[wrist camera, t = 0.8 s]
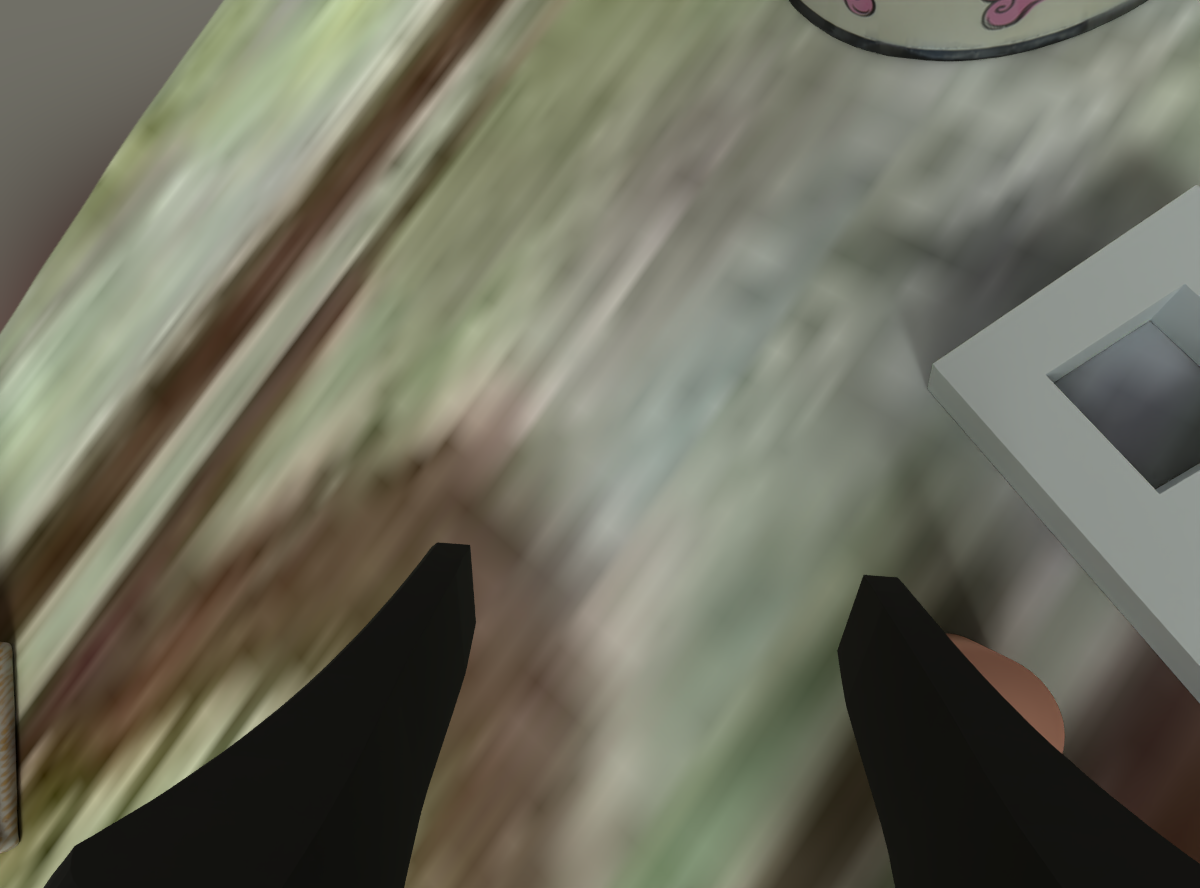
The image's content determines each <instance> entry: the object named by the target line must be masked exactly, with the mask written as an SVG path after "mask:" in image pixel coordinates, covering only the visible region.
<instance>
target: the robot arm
mask: <svg viewBox="0 0 1200 888" xmlns="http://www.w3.org/2000/svg"><path fill="white" fill-rule="evenodd" d="M475 624H476V617H475V604H474V591H473V578H472V564H471V551H470V545H463V544H450V543H436V544H435V545H434V546H432V547H431V549H430V550H429V551H428V553H427V554H426V555H425V556H424V558H423V559H422V560H421V562H420V563H419V564H418V565H417V567H416V568H415V569H414V570H413V572H412V573H411V574H410V575H409V577H408V578H407V579H406V580H405V582H404V583H403V584H402V585H401V586H400V588H399V589H398V590H397V591H396V592H395V594H394V595H393V596H392V597H391V598H390V599H389V600H388V602H387V603H386V604H385V605H384V606H383V607H382V608H381V609H380V611H379V612H378V613H377V614H376V615H375V616H374V617H373V618H372V620H371V621H370V622H369V623H368V624H367V625H366V626H365V627H364V628H363V629H362V631H361V632H360V633H359V634H358V635H357V636H356V637H355V638H354V639H353V640H352V641H351V642H350V643H349V644H348V645H347V646H346V647H345V648H344V649H343V650H342V651H341V652H340V653H339V654H338V655H337V656H336V657H335V658H334V659H333V660H332V661H331V662H330V663H329V664H328V665H327V666H326V667H325V668H324V669H323V670H322V671H321V672H320V673H318V674H317V675H316V676H315V677H314V678H313V679H312V680H311V681H310V682H309V683H308V684H307V685H305V686H304V687H303V688H302V689H301V690H300V691H299V692H297V693H296V694H295V695H294V696H293V697H292V698H291V699H289V700H288V701H287V702H286V703H285V704H284V705H282V706H281V707H280V708H279V709H278V710H276V711H275V712H274V713H273V714H271V715H270V716H269V717H268V718H266V719H265V720H264V721H263V722H261V723H260V724H259V725H258V726H256V727H255V728H254V729H253V730H251V731H250V732H249V733H248V734H246V735H245V736H244V737H242V738H241V739H240V740H238V741H237V742H236V743H235V744H233V745H232V746H230V747H229V748H228V749H226V750H225V751H224V752H222V753H221V754H219V755H218V756H217V757H215V758H214V759H212V760H211V761H209V762H208V763H206V764H205V765H204V766H202V767H201V768H199V769H198V770H196V771H195V772H193V773H192V774H191V775H189V776H188V777H186V778H185V779H183V780H182V781H180V782H179V783H177V784H176V785H175V786H173V787H172V788H170V789H169V790H167V791H166V792H164V793H163V794H161V795H159V796H158V797H156V798H155V799H153V800H152V801H150V802H148V803H147V804H145V805H143V806H142V807H140V808H138V809H137V810H135V811H133V812H132V813H130V814H128V815H127V816H125V817H123V818H122V819H120V820H118V821H117V822H115V823H113V824H112V825H110V826H108V827H107V828H105V829H103V830H102V831H100V832H98V833H97V834H95V835H93V836H92V837H90V838H88V839H86V840H84V841H83V842H81V843H79V844H77V845H76V846H74V848H73V849H72V850H71V852H70V853H69V854H68V856H67V857H66V858H65V860H64V861H63V862H62V863H61V865H60V866H59V867H58V868H57V870H56V871H55V872H54V873H53V875H52V876H51V878H50V879H49V880H48V882H47V883H46V885H45V886H44V888H404V885H405V881H406V876H407V872H408V867H409V863H410V858H411V854H412V850H413V845H414V841H415V836H416V832H417V828H418V823H419V819H420V815H421V811H422V807H423V804H424V800H425V797H426V793H427V790H428V787H429V783H430V780H431V777H432V774H433V771H434V768H435V765H436V762H437V759H438V756H439V753H440V750H441V747H442V744H443V741H444V738H445V735H446V732H447V729H448V726H449V723H450V720H451V717H452V714H453V711H454V708H455V704H456V701H457V698H458V695H459V692H460V689H461V686H462V683H463V680H464V676H465V673H466V668H467V664H468V659H469V654H470V649H471V644H472V639H473V634H474V629H475ZM837 652H838V659H839V665H840V672H841V679H842V685H843V690H844V696H845V702H846V706H847V710H848V714H849V717H850V721H851V724H852V728H853V731H854V734H855V738H856V741H857V745H858V748H859V752H860V755H861V758H862V762H863V765H864V768H865V772H866V775H867V778H868V782H869V785H870V788H871V792H872V795H873V799H874V802H875V805H876V809H877V812H878V815H879V819H880V822H881V825H882V829H883V833H884V837H885V841H886V845H887V849H888V853H889V858H890V863H891V868H892V873H893V878H894V883H895V888H1200V864H1199V863H1198V862H1196V861H1195V860H1193V859H1192V858H1191V857H1189V856H1188V855H1186V854H1185V853H1184V852H1182V851H1181V850H1180V849H1178V848H1177V847H1176V846H1174V845H1173V844H1172V843H1170V842H1169V841H1168V840H1166V839H1165V838H1164V837H1162V836H1161V835H1160V834H1158V833H1157V832H1156V831H1154V830H1153V829H1152V828H1150V827H1149V826H1148V825H1147V824H1145V823H1144V822H1143V821H1142V820H1140V819H1139V818H1138V817H1137V816H1135V815H1134V814H1133V813H1132V812H1130V811H1129V810H1128V809H1127V808H1125V807H1124V806H1123V805H1121V804H1120V803H1119V802H1118V801H1116V800H1115V799H1114V798H1113V797H1111V796H1110V795H1109V794H1108V793H1107V792H1105V791H1104V790H1103V789H1102V788H1101V787H1099V786H1098V785H1097V784H1096V783H1095V782H1093V781H1092V780H1091V779H1090V778H1089V777H1088V776H1086V775H1085V774H1084V773H1083V772H1082V771H1081V770H1080V769H1079V768H1077V767H1076V766H1075V765H1074V764H1073V763H1072V762H1071V761H1070V760H1069V759H1067V758H1066V757H1065V756H1064V755H1063V754H1062V753H1061V752H1060V751H1058V750H1057V749H1056V748H1055V747H1054V746H1053V745H1052V744H1051V743H1050V742H1048V741H1047V740H1046V739H1045V738H1044V737H1043V736H1042V735H1041V734H1040V733H1039V732H1038V731H1037V730H1036V729H1035V728H1034V727H1033V726H1032V725H1031V724H1030V723H1029V722H1028V721H1027V720H1026V719H1025V718H1024V717H1023V716H1022V715H1021V714H1020V713H1019V712H1018V711H1017V710H1016V709H1015V708H1014V707H1013V706H1012V705H1011V704H1010V703H1009V702H1008V701H1007V700H1006V699H1005V698H1004V697H1003V696H1002V695H1001V694H1000V693H999V692H998V691H997V690H996V689H995V688H994V687H993V686H992V685H991V684H990V683H989V682H988V680H987V679H986V678H985V677H984V676H983V675H982V674H981V673H980V672H979V671H978V670H977V669H976V667H975V666H974V665H973V664H972V663H971V662H970V661H969V660H968V659H967V657H966V656H965V655H964V654H963V653H962V652H961V651H960V650H959V648H958V647H957V646H956V645H955V644H954V643H953V642H952V641H951V639H950V638H949V637H948V636H947V635H946V634H945V632H944V631H943V630H942V629H941V628H940V627H939V625H938V624H937V623H936V622H935V621H934V620H933V618H932V617H931V616H930V615H929V614H928V613H927V611H926V610H925V609H924V608H923V607H922V605H921V604H920V603H919V602H918V601H917V599H916V598H915V597H914V596H913V595H912V594H911V592H910V591H909V590H908V589H907V588H906V587H905V585H904V584H903V583H902V582H901V581H900V580H899V579H898V578H897V577H884V576H871V575H863V578H862V581H861V584H860V587H859V590H858V593H857V596H856V599H855V601H854V604H853V607H852V610H851V613H850V616H849V619H848V622H847V624H846V627H845V630H844V633H843V636H842V639H841V642H840V645H839V647H838V650H837Z"/></svg>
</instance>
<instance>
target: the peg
mask: <svg viewBox="0 0 1200 888" xmlns="http://www.w3.org/2000/svg"><path fill="white" fill-rule="evenodd" d="M945 634H946V635H947V636H948V637H949V638H950V639H951V641H952V642H953V643H954V644H955V645H956V646H957V647H958V648H959V650H960V651H961V652H962V653H963V654H964V655H965V656H966V657H967V659H968V660H969V661H970V662H971V663H972V664H973V665H974V666H975V667H976V669H977V670H978V671H979V672H980V673H981V674H982V675H983V676H984V677H985V678H986V679H987V680H988V682H989V683H990V684H991V685H992V686H993V687H994V688H995V689H996V690H997V691H998V692H999V693H1000V694H1001V695H1002V696H1003V697H1004V698H1005V699H1006V700H1007V701H1008V702H1009V703H1010V704H1011V705H1012V706H1013V707H1014V708H1015V709H1016V710H1017V711H1018V712H1019V713H1020V714H1021V715H1022V716H1023V717H1024V718H1025V719H1026V720H1027V721H1028V722H1029V723H1030V724H1031V725H1032V726H1033V727H1034V728H1035V729H1036V730H1037V731H1038V732H1039V733H1040V734H1041V735H1042V736H1043V737H1044V738H1045V739H1046V740H1047V741H1048V742H1050V743H1051V744H1052V745H1053V746H1054V747H1055V748H1056V749H1057V750H1058V751H1060V752H1061V753H1063V748H1064V739H1065V732H1064V724H1063V719H1062V715H1061V712H1060V710H1059V707H1058V705H1057V703H1056V701H1055V699H1054V697H1053V696H1052V694H1051V693H1050V691H1049V690H1048V688H1047V687H1046V686H1045V685H1044V684H1043V683H1042V681H1041V680H1040V679H1039V678H1038V677H1036V676H1035V675H1034V674H1033V673H1032V672H1031V671H1029V670H1028V669H1027V668H1025V667H1024V666H1022V665H1020V664H1019V663H1017V662H1015V661H1013V660H1011V659H1009V658H1007V657H1005V656H1003V655H1001V654H999V653H997V652H995V651H993V650H991V649H988V648H986V647H984V646H982V645H980V644H978V643H976V642H974V641H972V640H970V639H968V638H965V637H963V636H960V635H956V634H950V633H945Z"/></svg>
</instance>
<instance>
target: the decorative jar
mask: <svg viewBox="0 0 1200 888" xmlns="http://www.w3.org/2000/svg"><path fill="white" fill-rule="evenodd" d="M12 659H13V652H12V647H11V645H10V644H9V643H7V642H0V853H3V852H6V851H8V850H11V849H12V848H14V847H15V846H17V845H18V843H19V837H18V825H17V818H18V817H17V785H16V744H15V700H14V683H13V680H14V679H13V663H12Z"/></svg>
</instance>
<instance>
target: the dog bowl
mask: <svg viewBox="0 0 1200 888" xmlns="http://www.w3.org/2000/svg"><path fill="white" fill-rule="evenodd" d="M789 1H790V2H791V4H792V5H793V6H794V7H795V8H796V10H798V11H799V12H800V13H801V14H802V15H803V16H804V17H806V18H807V19H808V20H809V21H810V22H811V23H813V24H814V25H816V26H817V27H819V28H820V29H822V30H823V31H825V32H826V33H828V34H829V35H831V36H833V37H835V38H837V39H839V40H841V41H843V42H845V43H848V44H850V45H852V46H855V47H858V48H861V49H864V50H867V51H871V52H875V53H879V54H883V55H887V56H894V57H902V58H911V59H921V60H933V61H966V60H978V59H987V58H995V57H1001V56H1007V55H1012V54H1017V53H1021V52H1025V51H1030V50H1034V49H1037V48H1040V47H1044V46H1047V45H1050V44H1054V43H1057V42H1060V41H1063V40H1066V39H1069V38H1072V37H1074V36H1077V35H1080V34H1082V33H1085V32H1087V31H1090V30H1092V29H1094V28H1096V27H1098V26H1100V25H1103V24H1105V23H1107V22H1109V21H1112V20H1114V19H1116V18H1118V17H1120V16H1122V15H1124V14H1125V13H1127V12H1129V11H1131V10H1133V9H1134V8H1136V7H1138V6H1139V5H1141V4H1143V3H1144V2H1146V1H1148V0H789Z"/></svg>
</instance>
